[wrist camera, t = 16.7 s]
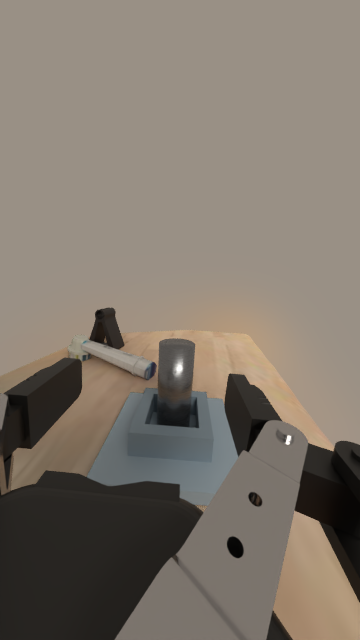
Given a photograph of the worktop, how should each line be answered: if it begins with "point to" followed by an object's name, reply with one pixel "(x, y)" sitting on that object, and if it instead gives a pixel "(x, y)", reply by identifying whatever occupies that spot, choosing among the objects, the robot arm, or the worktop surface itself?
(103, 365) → the worktop surface
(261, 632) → the robot arm
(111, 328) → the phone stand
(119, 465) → the block
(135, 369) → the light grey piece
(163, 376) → the steel axle
